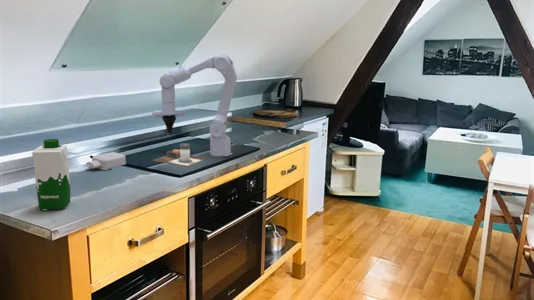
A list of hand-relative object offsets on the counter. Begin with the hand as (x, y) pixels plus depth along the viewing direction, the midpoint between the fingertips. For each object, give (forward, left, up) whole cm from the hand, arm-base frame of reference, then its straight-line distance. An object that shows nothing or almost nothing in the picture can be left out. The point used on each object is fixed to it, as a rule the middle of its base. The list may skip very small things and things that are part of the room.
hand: (169, 132), depth 195 cm
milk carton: (+68, +12, -10) cm, 70 cm away
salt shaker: (+9, +15, -9) cm, 19 cm away
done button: (+4, +6, -9) cm, 11 cm away
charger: (+31, -8, -10) cm, 34 cm away
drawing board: (+7, +12, -10) cm, 17 cm away
